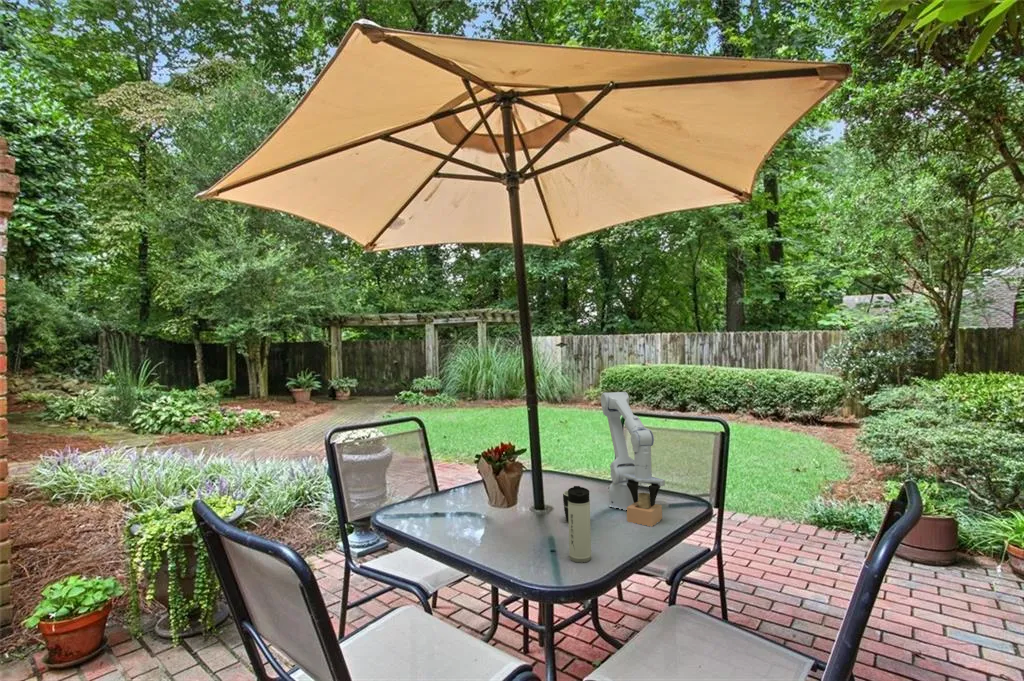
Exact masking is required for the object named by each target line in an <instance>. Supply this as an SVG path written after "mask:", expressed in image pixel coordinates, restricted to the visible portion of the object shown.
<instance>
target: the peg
mask: <svg viewBox="0 0 1024 681" xmlns="http://www.w3.org/2000/svg"><path fill="white" fill-rule="evenodd" d="M638 508H643V509H650V492H649V493H648V492H638Z"/></svg>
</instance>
